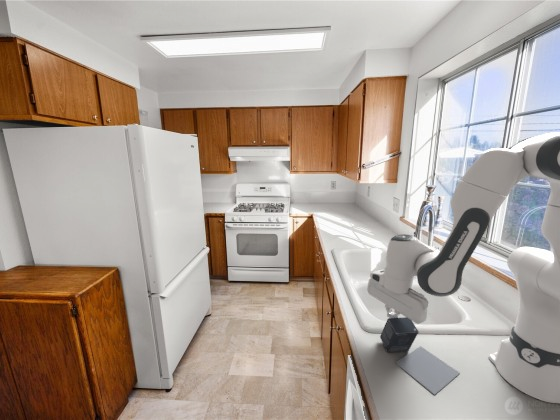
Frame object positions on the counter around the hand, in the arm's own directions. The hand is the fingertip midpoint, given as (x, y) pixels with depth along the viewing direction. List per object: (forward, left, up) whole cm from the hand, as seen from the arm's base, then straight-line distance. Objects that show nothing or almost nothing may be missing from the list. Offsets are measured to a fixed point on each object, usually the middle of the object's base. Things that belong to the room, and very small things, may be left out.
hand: (391, 318), depth 84 cm
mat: (-1, +13, -10) cm, 16 cm away
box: (0, +2, -9) cm, 9 cm away
